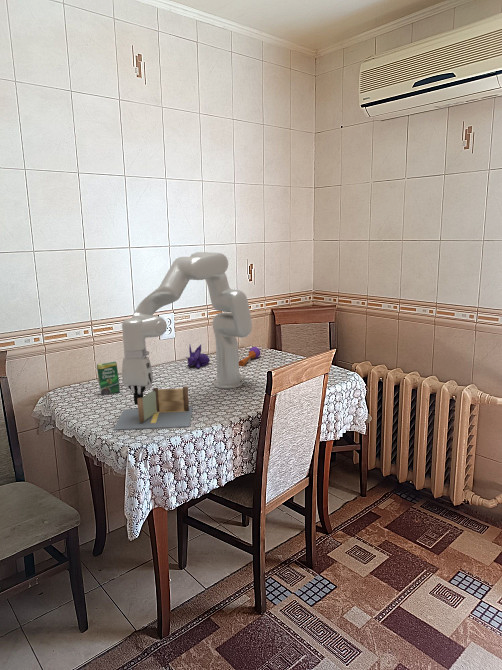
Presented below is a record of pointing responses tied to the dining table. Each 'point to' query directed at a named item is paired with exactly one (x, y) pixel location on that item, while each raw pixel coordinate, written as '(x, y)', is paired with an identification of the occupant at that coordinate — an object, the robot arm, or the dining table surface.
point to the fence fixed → (172, 399)
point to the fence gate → (147, 406)
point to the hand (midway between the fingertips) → (138, 403)
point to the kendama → (250, 355)
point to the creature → (197, 358)
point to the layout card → (154, 420)
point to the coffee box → (108, 378)
